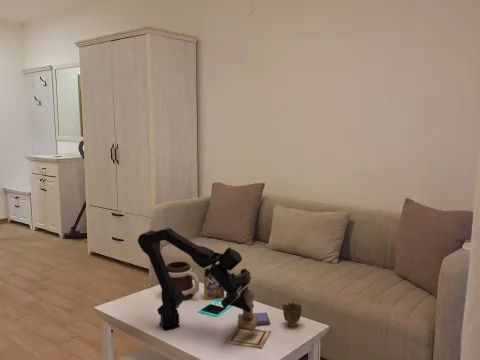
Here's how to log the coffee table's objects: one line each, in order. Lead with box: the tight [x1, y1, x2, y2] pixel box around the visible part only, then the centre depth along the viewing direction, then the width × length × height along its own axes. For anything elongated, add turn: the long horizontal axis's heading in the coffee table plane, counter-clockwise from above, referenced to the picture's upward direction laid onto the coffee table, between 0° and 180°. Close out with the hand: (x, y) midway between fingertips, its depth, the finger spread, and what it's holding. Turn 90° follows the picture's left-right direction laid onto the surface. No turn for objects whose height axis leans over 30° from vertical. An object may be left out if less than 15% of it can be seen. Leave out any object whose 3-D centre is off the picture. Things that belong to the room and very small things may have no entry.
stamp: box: [237, 289, 258, 331], centre depth 159 cm, size 6×6×14 cm
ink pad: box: [237, 312, 271, 327], centre depth 174 cm, size 12×9×2 cm
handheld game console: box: [197, 298, 233, 318], centre depth 187 cm, size 10×16×1 cm, turn 150°
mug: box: [166, 261, 200, 301], centre depth 199 cm, size 20×15×15 cm
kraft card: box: [224, 325, 272, 350], centre depth 160 cm, size 14×13×1 cm
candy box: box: [203, 265, 225, 301], centre depth 197 cm, size 9×4×15 cm, turn 103°
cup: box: [282, 302, 303, 328], centre depth 169 cm, size 8×7×8 cm
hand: (251, 309), depth 158 cm, fingers closed on stamp, 4 cm apart
